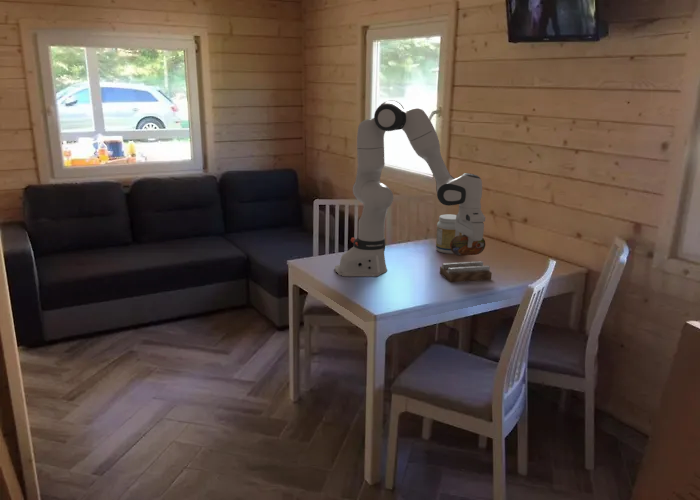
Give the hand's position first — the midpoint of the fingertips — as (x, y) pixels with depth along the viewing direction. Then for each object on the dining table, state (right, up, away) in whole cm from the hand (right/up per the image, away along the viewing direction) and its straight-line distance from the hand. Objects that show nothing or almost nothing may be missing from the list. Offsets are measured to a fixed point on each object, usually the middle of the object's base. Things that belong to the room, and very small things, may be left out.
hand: (467, 245), depth 250 cm
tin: (0, -4, +2) cm, 4 cm away
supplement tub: (-1, -2, +41) cm, 41 cm away
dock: (0, -13, +4) cm, 13 cm away
